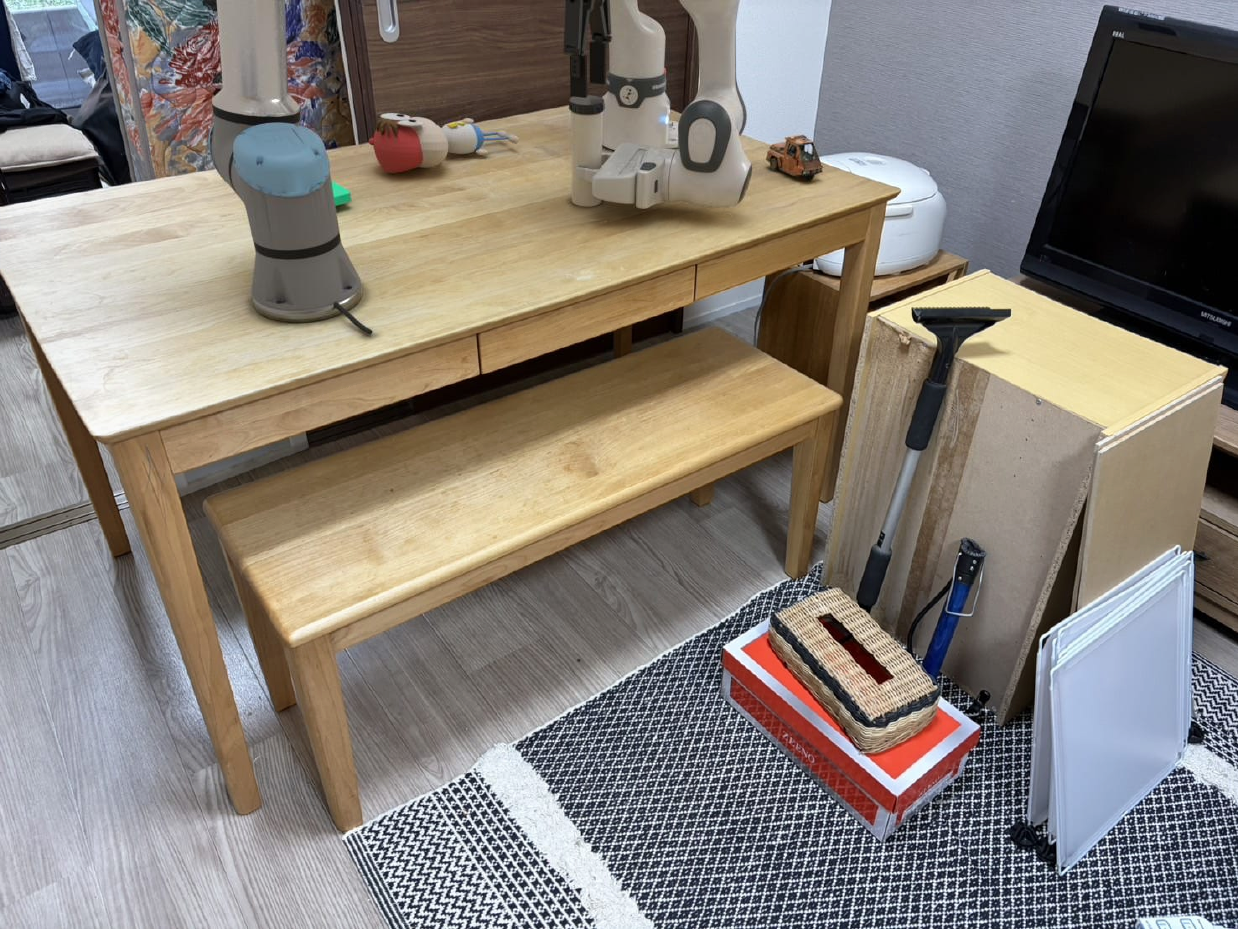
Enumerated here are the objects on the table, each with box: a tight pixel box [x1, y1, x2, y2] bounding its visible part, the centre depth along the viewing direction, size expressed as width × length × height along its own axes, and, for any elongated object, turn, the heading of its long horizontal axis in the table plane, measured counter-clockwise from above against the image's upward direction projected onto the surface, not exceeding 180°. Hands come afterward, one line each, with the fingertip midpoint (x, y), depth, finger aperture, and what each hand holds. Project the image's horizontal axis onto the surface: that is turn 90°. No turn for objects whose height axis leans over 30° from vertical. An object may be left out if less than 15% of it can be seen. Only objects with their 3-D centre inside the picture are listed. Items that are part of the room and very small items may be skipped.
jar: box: [570, 111, 603, 207], centre depth 163 cm, size 5×5×17 cm
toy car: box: [765, 134, 824, 182], centre depth 180 cm, size 6×12×7 cm, turn 39°
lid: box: [568, 94, 605, 114], centre depth 158 cm, size 6×6×2 cm
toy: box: [368, 112, 520, 174], centre depth 181 cm, size 18×10×30 cm
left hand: (588, 89), depth 157 cm, fingers open, 8 cm apart
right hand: (581, 165), depth 164 cm, fingers closed on jar, 5 cm apart
